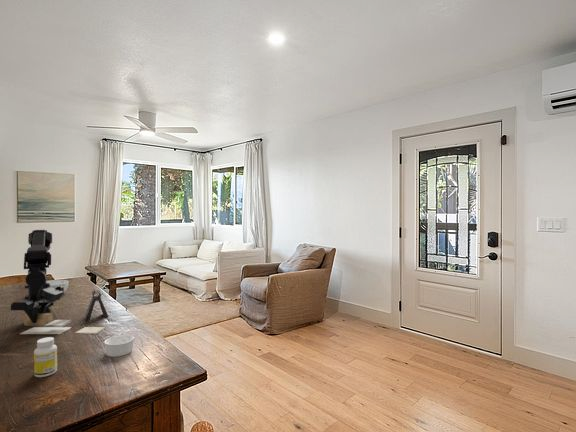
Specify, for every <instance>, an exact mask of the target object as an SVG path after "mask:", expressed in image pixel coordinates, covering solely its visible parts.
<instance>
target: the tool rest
mask: <svg viewBox="0 0 576 432" xmlns="http://www.w3.org/2000/svg"><path fill="white" fill-rule="evenodd" d="M71 328H72V326H65V327H64V326H62V327H45V326H33V327H31V328H29V329H27V330H24V331H22V332H20V333H19V335H61V334H62V333H64V332H66V331H69V330H70V329H71Z"/></svg>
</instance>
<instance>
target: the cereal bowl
mask: <svg viewBox="0 0 576 432" xmlns="http://www.w3.org/2000/svg"><path fill="white" fill-rule="evenodd" d="M46 281H47V283H49V284H50V288H57V287H58V286H62V287H64V292H66V290H68V288H69V284H70V283H69V282H70V281H69V280H67V279H52V280H46Z"/></svg>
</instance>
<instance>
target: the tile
mask: <svg viewBox="0 0 576 432" xmlns="http://www.w3.org/2000/svg"><path fill="white" fill-rule="evenodd" d="M105 329H106V327H105V326H85V327H83V328H81V329H79V330H78V331H75V332H74V334H81V335H82V334H83V335H85V334H86V335H87V334H88V335H96V334H98V333H100V332H101V331H103V330H105Z"/></svg>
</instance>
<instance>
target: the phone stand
mask: <svg viewBox="0 0 576 432" xmlns="http://www.w3.org/2000/svg"><path fill="white" fill-rule="evenodd" d="M96 292H97V293H96ZM91 294H92V297H91V300H90V302H89V305H88V307H87V310H86V311H85V313H84V321H85V322H86V321H90V320H91V317H92V314H93V311H94V306H95V303H96V302H98V303H99V307H100V310H101V312H102V313H101V314H102V317H103V318H104V319H107V318H109V314H108V312H107V309H106V306H104V305H105V304H104V303H103V301H102V299H101V298H102V297H101V296H102V293H101V291H100V289H97V291H96V290H95V289H94V290H93V291H91ZM96 294H98V295H96Z"/></svg>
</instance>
